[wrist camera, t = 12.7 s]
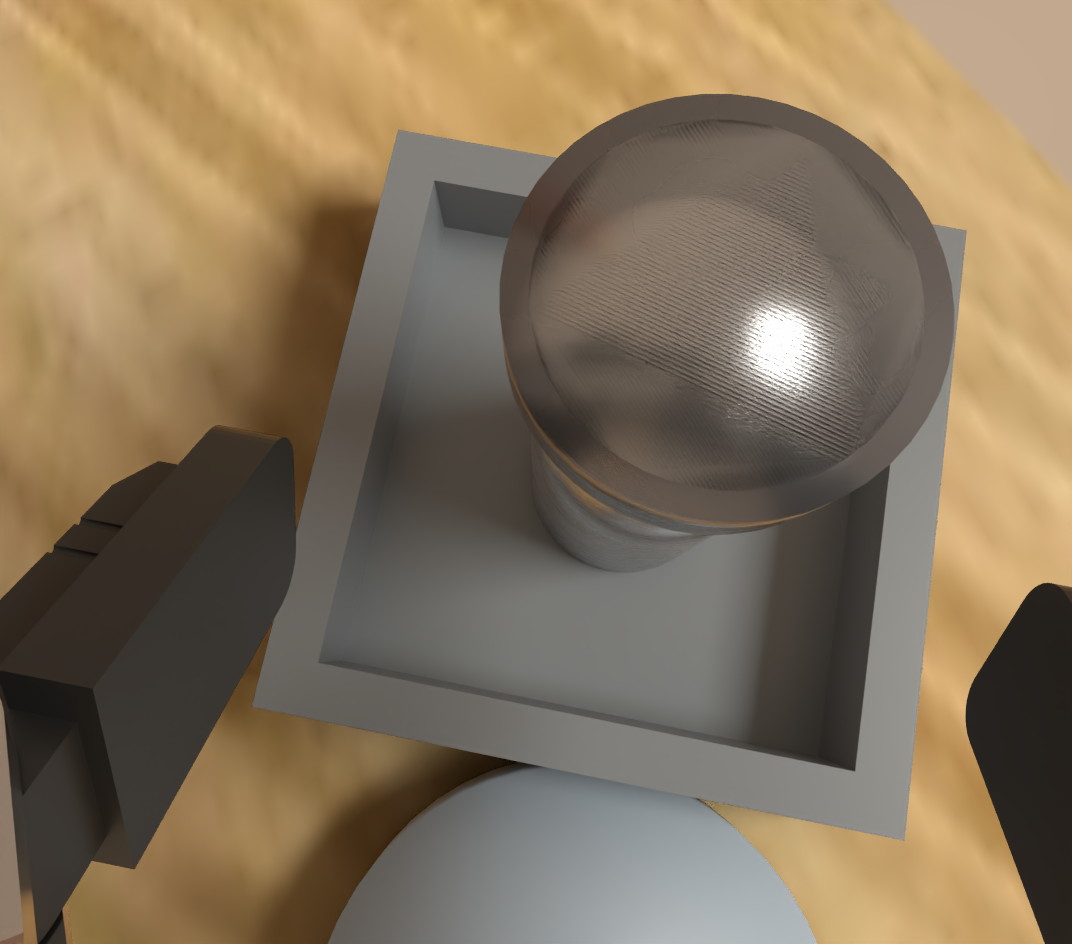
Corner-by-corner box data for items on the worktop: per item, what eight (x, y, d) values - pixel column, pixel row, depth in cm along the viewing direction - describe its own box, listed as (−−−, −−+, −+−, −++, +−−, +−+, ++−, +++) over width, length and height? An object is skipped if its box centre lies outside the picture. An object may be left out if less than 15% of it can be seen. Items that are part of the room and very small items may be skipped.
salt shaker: (498, 563, 18) (455, 472, 8) (540, 361, 19) (547, 60, 9) (712, 605, 18) (928, 564, 8) (743, 399, 19) (974, 135, 9)
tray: (296, 696, 18) (252, 706, 15) (417, 202, 21) (398, 129, 18) (843, 808, 18) (905, 840, 15) (903, 290, 20) (966, 230, 17)
